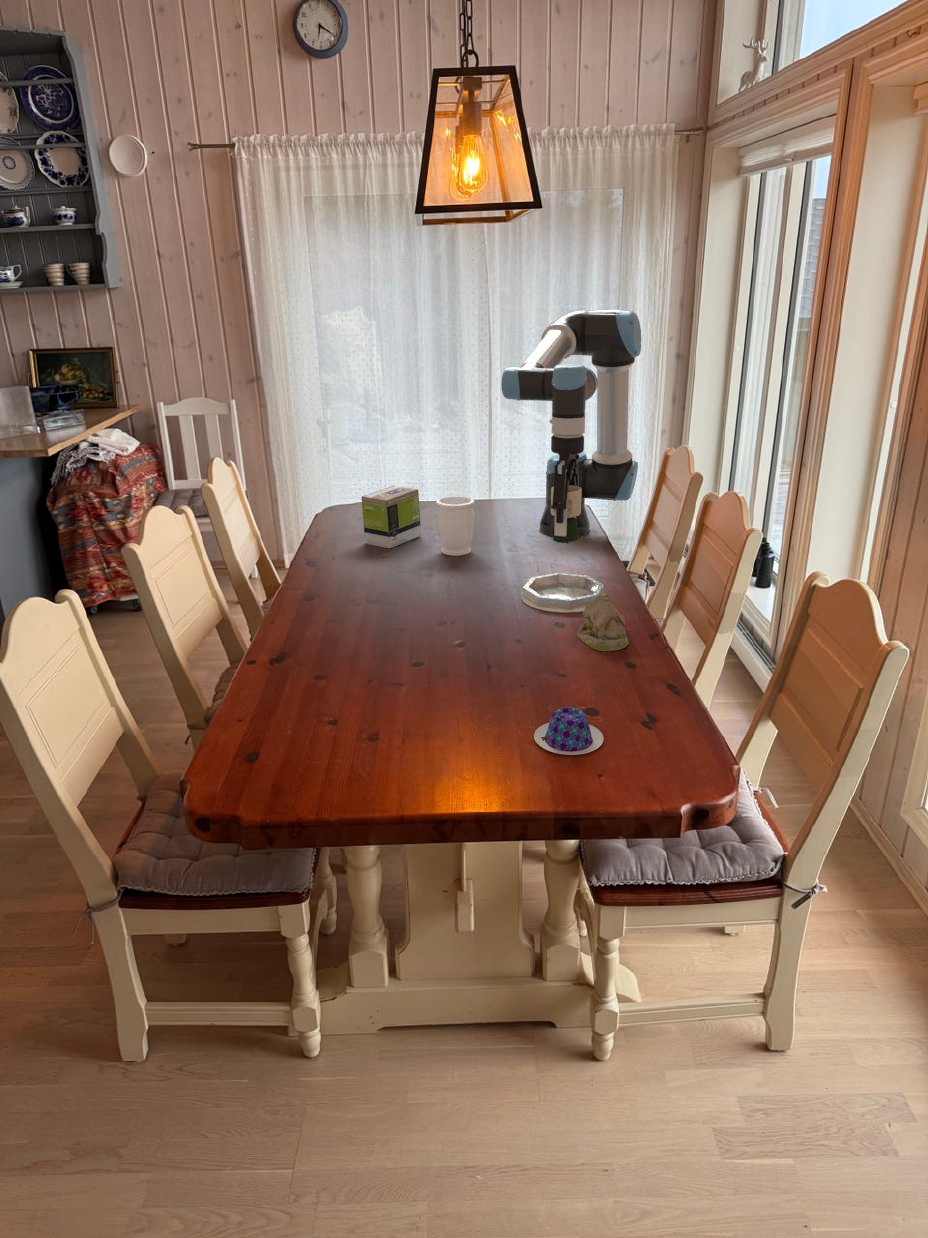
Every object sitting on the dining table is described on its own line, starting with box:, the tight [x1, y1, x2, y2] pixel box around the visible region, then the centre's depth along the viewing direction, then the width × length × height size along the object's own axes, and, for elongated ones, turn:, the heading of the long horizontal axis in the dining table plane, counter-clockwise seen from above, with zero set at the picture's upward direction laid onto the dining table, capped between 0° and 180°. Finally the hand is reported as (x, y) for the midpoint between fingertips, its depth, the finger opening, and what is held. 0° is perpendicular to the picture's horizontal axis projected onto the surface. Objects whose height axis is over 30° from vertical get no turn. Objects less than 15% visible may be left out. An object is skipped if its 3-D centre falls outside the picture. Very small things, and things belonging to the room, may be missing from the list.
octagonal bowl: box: [520, 572, 607, 614], centre depth 218 cm, size 21×21×3 cm
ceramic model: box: [576, 594, 630, 652], centre depth 193 cm, size 14×11×10 cm
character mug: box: [551, 485, 582, 544], centre depth 210 cm, size 11×7×13 cm, turn 12°
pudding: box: [533, 706, 604, 756], centre depth 153 cm, size 12×12×5 cm
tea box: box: [361, 485, 422, 549], centre depth 262 cm, size 15×10×15 cm
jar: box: [436, 496, 475, 557], centre depth 250 cm, size 11×10×15 cm
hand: (565, 529), depth 212 cm, fingers closed on character mug, 9 cm apart
